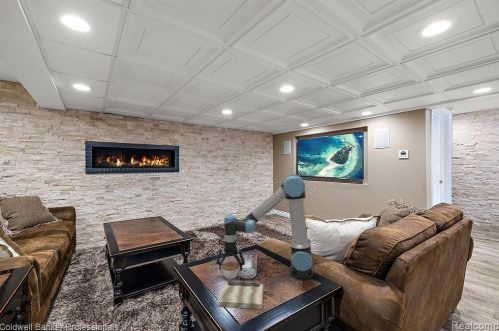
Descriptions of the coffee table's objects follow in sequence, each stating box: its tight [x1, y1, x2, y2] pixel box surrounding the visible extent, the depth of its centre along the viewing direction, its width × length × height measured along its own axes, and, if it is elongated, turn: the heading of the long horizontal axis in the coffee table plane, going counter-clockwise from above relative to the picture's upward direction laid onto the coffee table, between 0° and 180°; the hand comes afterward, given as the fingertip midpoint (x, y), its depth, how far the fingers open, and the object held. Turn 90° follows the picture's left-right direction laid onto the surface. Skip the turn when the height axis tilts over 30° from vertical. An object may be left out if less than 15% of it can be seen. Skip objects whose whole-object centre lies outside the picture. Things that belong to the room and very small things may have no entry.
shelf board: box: [217, 279, 264, 310], centre depth 120 cm, size 22×18×4 cm
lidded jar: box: [222, 260, 239, 280], centre depth 141 cm, size 11×11×9 cm
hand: (230, 275), depth 141 cm, fingers closed on lidded jar, 11 cm apart
